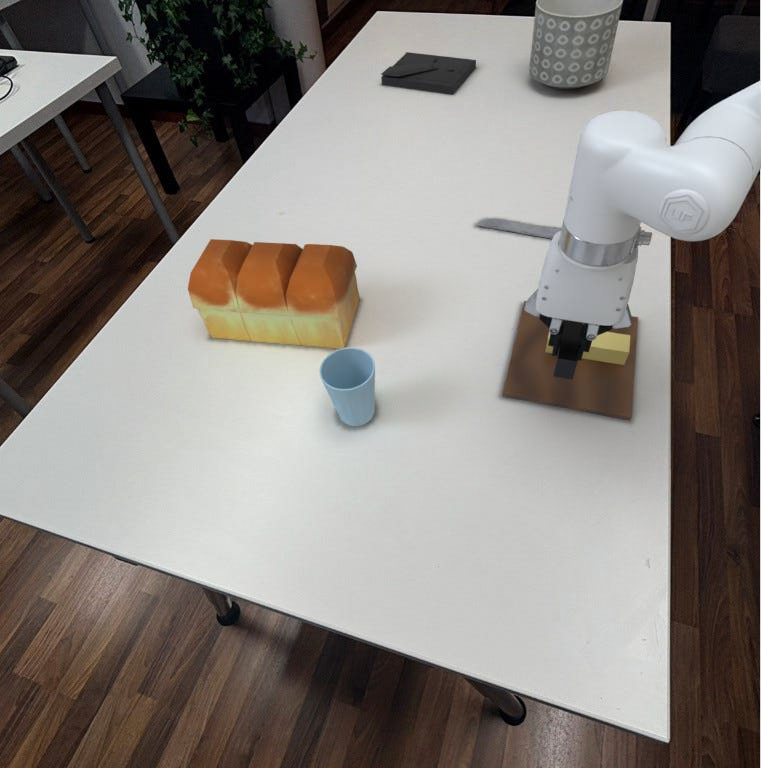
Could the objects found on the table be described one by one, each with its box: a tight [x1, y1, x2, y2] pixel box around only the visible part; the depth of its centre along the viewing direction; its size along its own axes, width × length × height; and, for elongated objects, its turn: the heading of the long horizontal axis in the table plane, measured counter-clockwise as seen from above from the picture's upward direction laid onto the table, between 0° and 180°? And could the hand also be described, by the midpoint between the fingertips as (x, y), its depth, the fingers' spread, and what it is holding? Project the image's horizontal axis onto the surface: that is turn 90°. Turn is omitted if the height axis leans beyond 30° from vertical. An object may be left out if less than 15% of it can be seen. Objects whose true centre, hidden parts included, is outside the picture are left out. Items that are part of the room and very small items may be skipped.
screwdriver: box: [553, 319, 583, 380], centre depth 75 cm, size 19×2×4 cm, turn 162°
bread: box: [187, 238, 361, 350], centre depth 93 cm, size 25×12×15 cm, turn 79°
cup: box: [319, 346, 376, 427], centre depth 80 cm, size 8×8×10 cm
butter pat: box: [545, 332, 553, 353], centre depth 86 cm, size 2×4×3 cm, turn 162°
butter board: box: [502, 300, 639, 421], centre depth 86 cm, size 18×20×1 cm
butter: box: [582, 332, 630, 365], centre depth 84 cm, size 8×4×3 cm, turn 72°
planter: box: [528, 0, 624, 91], centre depth 134 cm, size 19×19×18 cm
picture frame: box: [380, 51, 477, 95], centre depth 150 cm, size 16×3×21 cm
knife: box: [476, 218, 562, 240], centre depth 106 cm, size 25×1×5 cm
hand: (567, 349), depth 74 cm, fingers closed on screwdriver, 2 cm apart
